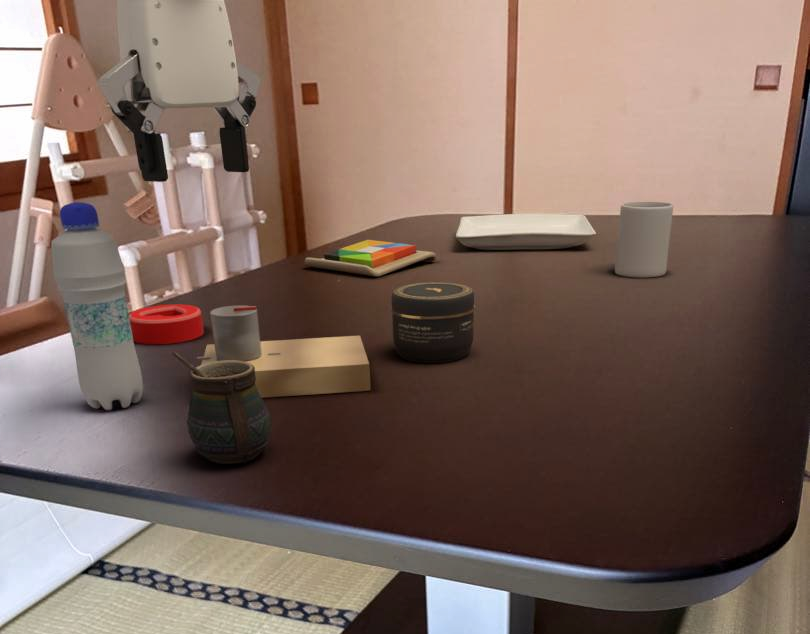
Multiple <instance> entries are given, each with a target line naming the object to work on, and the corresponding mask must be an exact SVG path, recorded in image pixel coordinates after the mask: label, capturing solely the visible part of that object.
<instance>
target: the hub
mask: <svg viewBox="0 0 810 634" xmlns="http://www.w3.org/2000/svg"><path fill="white" fill-rule="evenodd" d="M209 313H210V314H209V315H210V322H211V329H212V335H213V336H212V337H213V344H215V352H216V358H217V359H218V360H220V361H224V360H236V361H249V360H253V359H256V358H258V357H260V356H261V354H262V352H261V343H260V341H261V336H260V335H261V334H260V325H259V315H258V309H257V306H256V305H227V306H220V307H217V308H213V309H212V310H210V312H209Z"/></svg>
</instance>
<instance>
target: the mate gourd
mask: <svg viewBox="0 0 810 634" xmlns="http://www.w3.org/2000/svg"><path fill="white" fill-rule="evenodd" d="M170 354H171V355H173V357H175V358H176V359H177V360H178V361H179V362H180V363H182V365H184V366H185V367H186V368H187V369H189V370H190V372H189V375H188V377H189V379H190V387H191V389H192V397H191V398H190V399H191V400H190V402H189V407H188V411H187V420H186V425H187V429H188V431H187V432H188V435H189V438H190V439H191V442H192V443H193V445H194V446H195V450H196V452H197V453H198V454H200V455H201V456H202V457H204V458H206V459H207V460H209V461H210V462H212V463H215V464H222V465H232V464H244V463H245V464H247V462H250V461H252V460H254V459H255V458H256V457H258V456H259V455H260V454H261V453H262V452H263V451H264V450H265V448H266V446H267V445H268V442H269V435H270V431H271V416H270V413H269V410H268V407H267V405H266V403H265V402H264V400H263V398H261V396H260V395H259V392H258V390H257V387H256V384H255V381H256V376H255V367H254V366H253V365H252V364H250V363H247V362H243V361H236V360H224V361H216V362H210V363H206V364H203V365H201V364H200V365H197V366H196V367H195V366H194V365H193V364H192V363H191V362H188V360H186V359H185V358H184V357H183V356H181V355H180V354H179V353H178V352H174V351H172V350H171V351H170Z"/></svg>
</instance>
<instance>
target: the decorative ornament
mask: <svg viewBox="0 0 810 634" xmlns="http://www.w3.org/2000/svg"><path fill="white" fill-rule="evenodd" d="M129 320H130V325H131V331H132V336H133V342H134V343H138V344H143V345H169V344H177V343H183V342H188V341H192V340H195V339H197V338H200V337H201V336H203V335H204V333H205V329H204V323H203V315H202V311H201V309H200V308H199V307H197V306H194V305H189V304H180V303H179V304H175V303H174V304H160V305H152V306H148V307H142V308H138V309H136V310H134V311H132V312H131V313H129Z"/></svg>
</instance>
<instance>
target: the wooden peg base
mask: <svg viewBox="0 0 810 634" xmlns="http://www.w3.org/2000/svg"><path fill="white" fill-rule="evenodd" d="M260 343H261V352H262V354H261V356H260V357H258V358H256V359H253V360H249V361H243V362H247V363H250V364H252V365H253V366H254V367H255V376H256V381H255V384H256V387H257V390H258V392H259V395H260V396H261V398H262V399H264V398H279V397H280V398H281V397H292V396H293V397H294V396H309V395H310V396H311V395H323V394H324V395H326V394H327V395H328V394H338V393H339V394H340V393H355V392H368V391H370V392H371V371H370V369H371V368H370V361H369V359H368V356H367V352H366V349H365V347H364V343H363V341H362V337H361V335H343V336H330V337H329V336H328V337H312V338H311V337H309V338H295V339H282V340H281V339H279V340H264V341H263V340H260ZM196 360H202V361H201V363H200V365H203V364H206V363H210V362H216V361H220V360H218V359H217V358H216V352H215V344H214V343H209V344H206V348H205V350H204V353H203V356H196Z"/></svg>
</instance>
